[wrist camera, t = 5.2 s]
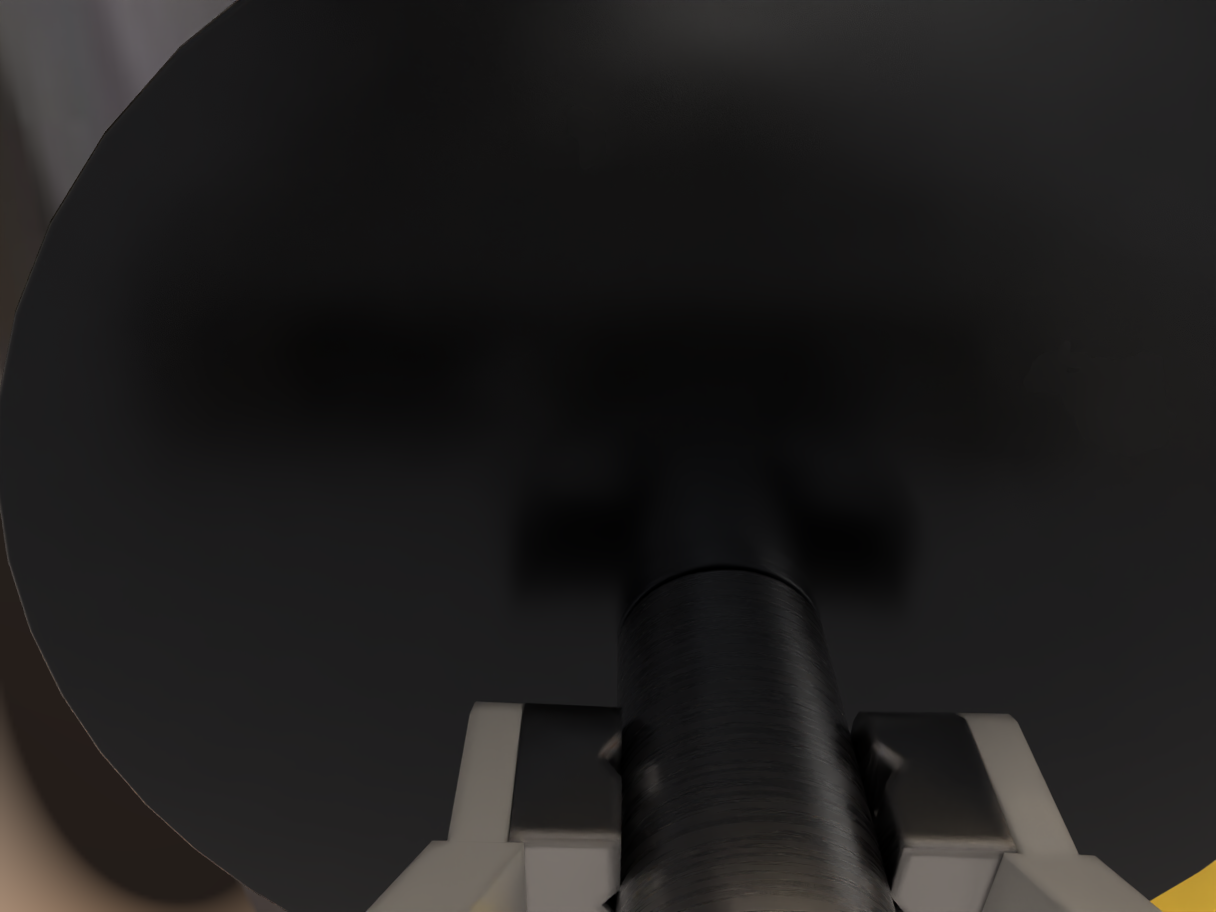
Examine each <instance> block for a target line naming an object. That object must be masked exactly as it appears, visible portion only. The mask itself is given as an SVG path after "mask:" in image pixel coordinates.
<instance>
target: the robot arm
mask: <svg viewBox="0 0 1216 912" xmlns="http://www.w3.org/2000/svg"><path fill="white" fill-rule="evenodd" d="M850 736H851V740H852V744H853V748H854V752H855V756H856V759H857V763H858V767H859V771H860V775H861V779H862V783H863V787H864V791H865V794H866V798H867V802H868V806H869V810H870V814H871V818H872V822H873V826H874V829H875V833H876V837H877V841H878V845H879V849H880V853H881V857H882V861H883V865H884V868H885V872H886V876H887V880H888V884H889V888H890V892H891V896H892V900H893V903H894V907H895V911H896V912H1162V911H1161V910H1160V909H1159V908H1157V907H1156V906H1155V905H1154V904H1153V903H1151V902H1150V901H1149V900H1148V899H1147V898H1145V897H1144V896H1143V895H1142V894H1141V893H1139V892H1138V891H1137V890H1136V889H1135V888H1133V887H1132V886H1131V885H1130V884H1128V883H1127V882H1126V881H1125V880H1124V879H1122V878H1121V877H1120V876H1119V875H1118V874H1116V873H1115V872H1114V871H1113V870H1112V869H1110V868H1109V867H1108V866H1107V865H1106V864H1104V863H1103V862H1102V861H1101V860H1100V859H1098V858H1097V857H1096V856H1093V855H1079V854H1078V852H1077V849H1076V847H1075V845H1074V843H1073V841H1072V839H1071V836H1070V834H1069V832H1068V830H1067V828H1066V826H1065V823H1064V821H1063V819H1062V817H1061V815H1060V813H1059V811H1058V808H1057V806H1056V804H1055V802H1054V800H1053V798H1052V795H1051V793H1050V791H1049V789H1048V787H1047V785H1046V782H1045V780H1044V778H1043V776H1042V774H1041V772H1040V770H1039V767H1038V765H1037V763H1036V761H1035V759H1034V757H1033V754H1032V752H1031V750H1030V748H1029V746H1028V744H1027V741H1026V739H1025V737H1024V735H1023V733H1022V731H1021V729H1020V726H1019V724H1018V722H1017V721H1016V720H1015V719H1014V718H1013V717H1012V716H1011V715H1010V714H993V713H958V714H955V713H951V712H858V714H857V716H856V717H855V719H854V721H853V725H852V729H851V733H850ZM621 751H622V707H603V706H582V705H561V704H539V703H525V704H522V703H500V702H478V701H475V703H474V706H473V708H472V710H471V713H470V716H469V721H468V727H467V732H466V738H465V744H464V749H463V755H462V761H461V766H460V772H459V778H458V783H457V789H456V794H455V800H454V806H453V811H452V817H451V823H450V828H449V834H448V839H447V841H431V842H430V843H429V845H428V846H427V847H426V848H425V849H424V850H423V851H422V852H421V853H420V854H419V855H418V856H417V857H416V858H415V859H414V861H413V862H412V863H411V864H410V865H409V866H408V867H407V868H406V869H405V870H404V871H403V872H402V873H401V874H400V876H399V877H398V878H397V879H396V880H395V881H394V882H393V883H392V884H391V885H390V886H389V887H388V888H387V889H386V891H385V892H384V893H383V894H382V895H381V896H380V897H379V898H378V899H377V900H376V901H375V902H374V903H373V904H372V906H371V907H370V908H369V909H368V910H367V911H366V912H616V892H617V891H618V890H619V889H620V867H621V808H622V778H621Z"/></svg>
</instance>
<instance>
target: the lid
mask: <svg viewBox="0 0 1216 912" xmlns="http://www.w3.org/2000/svg"><path fill="white" fill-rule="evenodd" d="M0 513H1V519H2V526H3V533H4V539H5V546H6V553H7V560H8V563H9V566H10V569H11V572H12V576H13V579H14V582H15V585H16V588H17V591H18V594H19V598H20V601H21V604H22V607H23V610H24V613H25V617H26V620H27V623H28V626H29V629H30V632H31V634H32V636H33V638H34V640H35V642H36V644H37V646H38V648H39V650H40V652H41V654H42V656H43V658H44V660H45V662H46V664H47V667H48V669H49V670H50V673H51V674H52V677H53V679H54V681H55V683H56V685H57V687H58V689H59V691H60V693H61V695H62V696H63V698H64V699H65V701H66V703H67V704H68V705H69V707H70V708H71V710H72V711H73V713H74V714H75V716H76V717H77V719H78V720H79V722H80V723H81V725H82V726H83V728H84V729H85V731H86V732H87V734H88V735H89V737H90V738H91V740H92V741H93V743H94V744H95V746H96V747H97V749H98V750H99V751H100V753H101V754H102V755H103V756H104V758H105V759H106V760H107V761H108V762H109V763H110V764H111V766H112V767H113V768H114V769H115V770H116V771H117V772H118V774H119V775H120V776H121V777H122V778H123V779H124V780H125V782H127V784H128V785H129V786H130V787H131V788H132V790H133V791H134V792H135V793H136V794H137V795H138V796H139V798H140V799H141V800H142V801H143V802H144V803H145V804H146V805H147V806H148V807H149V808H150V809H151V810H152V811H153V812H154V813H155V814H157V815H158V816H159V817H160V818H161V819H162V820H163V821H164V822H165V823H167V824H168V825H169V826H170V827H171V828H172V829H173V830H174V831H175V832H176V833H177V834H179V835H180V836H181V837H182V838H183V839H184V840H185V841H186V842H187V843H189V844H190V845H191V846H192V847H193V848H194V849H195V850H197V851H198V852H199V853H201V854H202V855H203V856H205V857H206V858H207V859H209V860H210V861H211V862H213V863H214V864H216V865H217V866H218V867H220V868H221V869H222V870H224V871H225V872H226V873H228V874H229V875H231V876H232V877H233V878H235V879H236V880H237V881H239V882H240V883H241V884H243V885H244V886H246V887H247V888H248V889H250V890H252V891H253V892H255V893H257V894H258V895H260V896H262V897H263V898H265V899H267V900H269V901H270V902H272V903H274V904H275V905H277V906H279V907H280V908H282V909H284V910H285V911H287V912H366V911H367V910H368V909H369V908H370V907H371V906H372V904H373V903H374V902H375V901H376V900H377V899H378V898H379V897H380V896H381V895H382V894H383V893H384V892H385V891H386V889H387V888H388V887H389V886H390V885H391V884H392V883H393V882H394V881H395V880H396V879H397V878H398V877H399V876H400V874H401V873H402V872H403V871H404V870H405V869H406V868H407V867H408V866H409V865H410V864H411V863H412V862H413V861H414V859H415V858H416V857H417V856H418V855H419V854H420V853H421V852H422V851H423V850H424V849H425V848H426V847H427V846H428V845H429V843H430V842H431V841H447V839H448V834H449V828H450V823H451V817H452V811H453V806H454V800H455V794H456V789H457V783H458V778H459V772H460V766H461V761H462V755H463V749H464V744H465V738H466V732H467V727H468V721H469V716H470V713H471V710H472V708H473V706H474V703H475V701H478V702H500V703H522V704H525V703H539V704H561V705H582V706H603V707H622V751H621V778H622V808H621V867H620V889H619V890H618V891H617V892H616V912H896V911H895V907H894V903H893V900H892V896H891V892H890V888H889V884H888V880H887V876H886V872H885V868H884V865H883V861H882V857H881V853H880V849H879V845H878V841H877V837H876V833H875V829H874V826H873V822H872V818H871V814H870V810H869V806H868V802H867V798H866V794H865V791H864V787H863V783H862V779H861V775H860V771H859V767H858V763H857V759H856V756H855V752H854V748H853V744H852V740H851V736H850V733H851V729H852V725H853V721H854V719H855V717H856V716H857V714H858V712H951V713H955V714H958V713H993V714H1010V715H1011V716H1012V717H1013V718H1014V719H1015V720H1016V721H1017V722H1018V724H1019V726H1020V729H1021V731H1022V733H1023V735H1024V737H1025V739H1026V741H1027V744H1028V746H1029V748H1030V750H1031V752H1032V754H1033V757H1034V759H1035V761H1036V763H1037V765H1038V767H1039V770H1040V772H1041V774H1042V776H1043V778H1044V780H1045V782H1046V785H1047V787H1048V789H1049V791H1050V793H1051V795H1052V798H1053V800H1054V802H1055V804H1056V806H1057V808H1058V811H1059V813H1060V815H1061V817H1062V819H1063V821H1064V823H1065V826H1066V828H1067V830H1068V832H1069V834H1070V836H1071V839H1072V841H1073V843H1074V845H1075V847H1076V849H1077V852H1078V854H1079V855H1093V856H1096V857H1097V858H1098V859H1100V860H1101V861H1102V862H1103V863H1104V864H1106V865H1107V866H1108V867H1109V868H1110V869H1112V870H1113V871H1114V872H1115V873H1116V874H1118V875H1119V876H1120V877H1121V878H1122V879H1124V880H1125V881H1126V882H1127V883H1128V884H1130V885H1131V886H1132V887H1133V888H1135V889H1136V890H1137V891H1138V892H1139V893H1141V894H1142V895H1143V896H1144V897H1145V898H1147V899H1148V900H1149V901H1151V900H1153V899H1155V898H1157V897H1158V896H1160V895H1162V894H1163V893H1165V892H1167V891H1168V890H1170V889H1172V888H1173V887H1175V886H1177V885H1178V884H1180V883H1182V882H1184V881H1185V880H1187V879H1189V878H1190V877H1192V876H1194V875H1195V874H1197V873H1199V872H1200V871H1202V870H1203V869H1204V868H1206V867H1207V866H1209V865H1210V864H1211V863H1213V862H1214V861H1215V860H1216V0H237V1H235V2H234V3H233V4H232V5H230V6H229V7H228V8H227V9H225V10H224V11H223V12H222V13H221V14H219V15H218V16H217V17H216V18H214V19H213V20H212V21H211V22H210V23H208V24H207V25H206V26H205V27H203V28H202V29H201V30H200V31H199V32H197V33H196V34H195V35H194V36H192V37H191V38H190V39H189V40H187V41H186V42H185V43H184V44H183V45H181V46H180V47H179V48H178V49H177V51H176V52H175V53H174V54H173V55H172V56H171V57H170V59H169V60H168V61H167V62H166V63H165V64H164V65H163V67H162V68H161V69H160V70H159V71H158V72H157V73H156V74H155V76H154V77H153V78H152V79H151V80H150V81H149V82H148V84H147V85H146V86H145V87H144V88H143V89H142V90H141V92H140V93H139V94H138V95H137V96H136V97H135V98H134V100H133V101H132V102H131V103H130V104H129V105H128V106H127V108H126V109H125V110H124V111H123V112H122V113H121V114H120V116H119V117H118V118H117V119H116V120H115V121H114V122H113V123H112V125H111V126H110V127H109V128H108V129H107V130H106V131H105V133H104V134H103V136H102V138H101V139H100V141H99V143H98V144H97V146H96V148H95V149H94V151H93V152H92V154H91V156H90V157H89V159H88V161H87V162H86V164H85V166H84V167H83V169H82V170H81V172H80V174H79V175H78V177H77V179H76V180H75V182H74V184H73V185H72V187H71V188H70V190H69V192H68V193H67V195H66V197H65V198H64V200H63V202H62V203H61V205H60V206H59V208H58V210H57V211H56V213H55V215H54V216H53V218H52V220H51V221H50V224H49V226H48V229H47V232H46V234H45V237H44V239H43V242H42V244H41V247H40V249H39V252H38V255H37V257H36V260H35V262H34V265H33V267H32V270H31V272H30V275H29V277H28V280H27V283H26V285H25V288H24V290H23V293H22V295H21V298H20V300H19V303H18V306H17V308H16V311H15V316H14V321H13V326H12V331H11V336H10V341H9V346H8V351H7V356H6V361H5V366H4V371H3V377H2V382H1V387H0Z"/></svg>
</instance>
